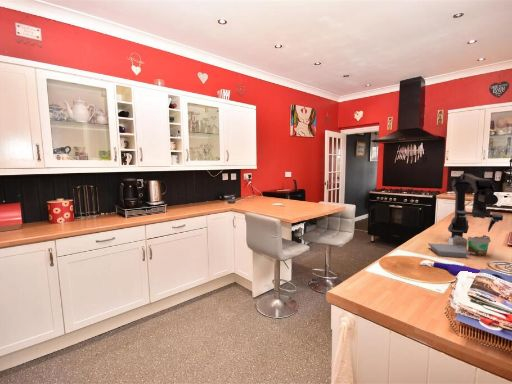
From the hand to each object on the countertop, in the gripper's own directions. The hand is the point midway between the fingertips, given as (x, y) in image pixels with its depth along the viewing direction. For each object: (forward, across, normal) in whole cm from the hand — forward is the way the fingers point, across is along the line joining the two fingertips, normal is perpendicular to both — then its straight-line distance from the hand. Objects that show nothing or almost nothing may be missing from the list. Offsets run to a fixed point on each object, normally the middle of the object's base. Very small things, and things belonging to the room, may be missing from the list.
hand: (477, 230), depth 139 cm
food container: (+13, +2, -1) cm, 14 cm away
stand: (+13, -11, -9) cm, 20 cm away
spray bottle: (+13, -7, -38) cm, 40 cm away
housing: (+14, -8, +6) cm, 17 cm away
